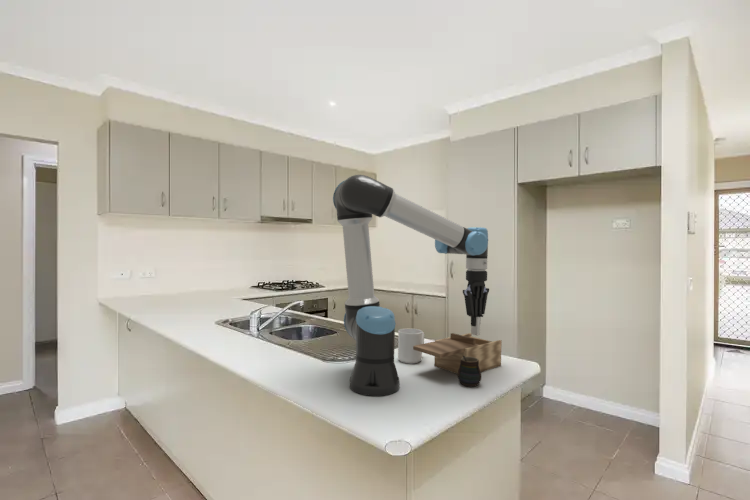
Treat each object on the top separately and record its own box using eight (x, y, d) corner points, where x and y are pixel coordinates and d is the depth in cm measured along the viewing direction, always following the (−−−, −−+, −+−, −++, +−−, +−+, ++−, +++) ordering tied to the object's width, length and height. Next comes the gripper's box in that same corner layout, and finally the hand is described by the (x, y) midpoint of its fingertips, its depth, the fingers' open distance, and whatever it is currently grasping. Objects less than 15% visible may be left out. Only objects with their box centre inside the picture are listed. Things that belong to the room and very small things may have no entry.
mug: (410, 366, 141) (411, 334, 141) (392, 360, 148) (393, 330, 147) (432, 359, 149) (432, 330, 149) (414, 354, 156) (414, 326, 156)
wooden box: (466, 376, 131) (466, 349, 130) (434, 366, 141) (434, 340, 141) (501, 365, 143) (501, 340, 143) (469, 356, 154) (469, 333, 154)
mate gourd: (484, 383, 125) (485, 351, 125) (476, 391, 118) (477, 357, 118) (462, 378, 129) (462, 348, 128) (453, 385, 122) (454, 353, 122)
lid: (440, 357, 124) (440, 347, 124) (413, 349, 133) (413, 340, 133) (479, 348, 136) (479, 338, 136) (452, 340, 146) (452, 332, 146)
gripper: (473, 271, 137) (472, 339, 137) (496, 270, 145) (494, 334, 146) (456, 269, 143) (455, 335, 143) (479, 268, 151) (477, 330, 151)
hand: (475, 334), depth 144 cm, fingers closed
